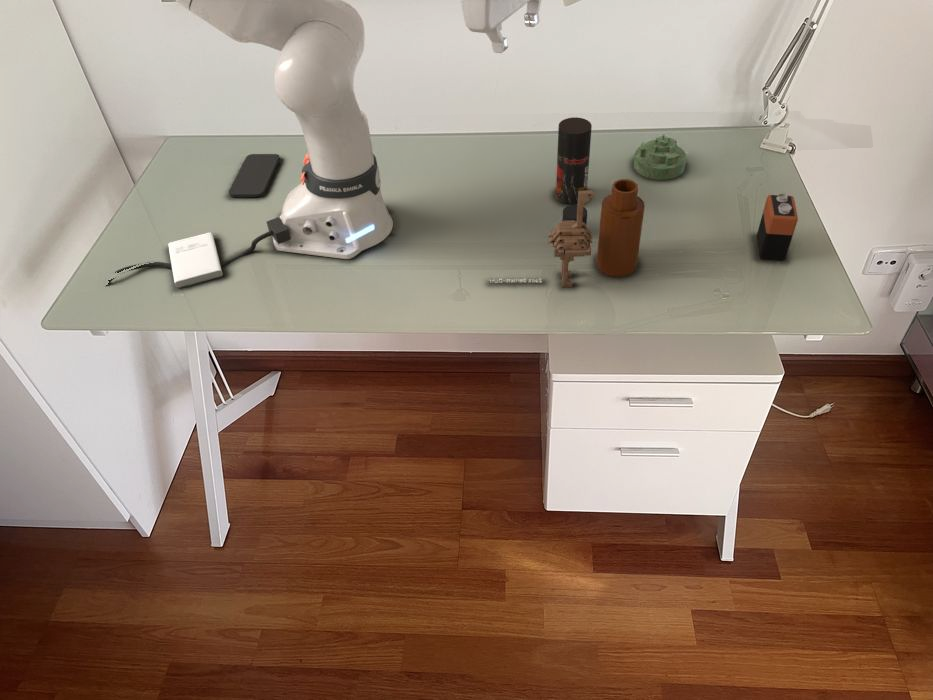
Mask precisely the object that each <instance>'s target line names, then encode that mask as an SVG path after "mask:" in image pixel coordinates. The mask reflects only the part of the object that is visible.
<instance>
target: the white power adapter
mask: <svg viewBox="0 0 933 700" xmlns="http://www.w3.org/2000/svg"><path fill="white" fill-rule="evenodd" d="M167 245H168V252H169V259H170V264H171V265H172V269H171V270H172V276H173V281H174V285H175V287H176V288H177V289H181V288H184V287H189V286H192V285H196V284H200V283H204V282H206V281H207V282H208V281H212V280H215V279H217V278H221V277H223V276H224V274H223V270H222V267H221V266H220V263H221V262H220V259H219V254H218V250H217V246H216V242H215V238H214V235H213V232H211V231H210V232H205V233H202V234H198V235H193V236H190V237H186V238H182V239H178V240H174V241H170V242H168V244H167Z"/></svg>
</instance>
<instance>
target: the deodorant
mask: <svg viewBox="0 0 933 700" xmlns="http://www.w3.org/2000/svg"><path fill="white" fill-rule="evenodd" d="M592 128H593V126H592V123H591V121H589V120H588V119H585V118H583V117H577V116H576V117H573V116H572V117H567V118H564V119H562V120H561V121H559V123H558V129H557V130H558V131H557V132H558V134H557V157H556V179H555V180H556V182H555V183H556V184H555V198H556V200H557V201H558V202H560V203H561V204H564V205H568V206H569V205H578V191H586V190H588V183H589V181H588V180H589V167H590V156H591V154H590V153H591V139H592Z"/></svg>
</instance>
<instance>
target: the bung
mask: <svg viewBox="0 0 933 700" xmlns="http://www.w3.org/2000/svg"><path fill="white" fill-rule="evenodd" d="M577 208H578V204H574V205H569V204H568V205H566V206H565V207H564V208H563V209H562V221H561V222H563V221H567V220H575V221H576V222H577ZM582 222H584V223H585V224H586V227H588V226H587V224H588V210H587V208H586V207H585V206H583V220H582Z"/></svg>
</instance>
